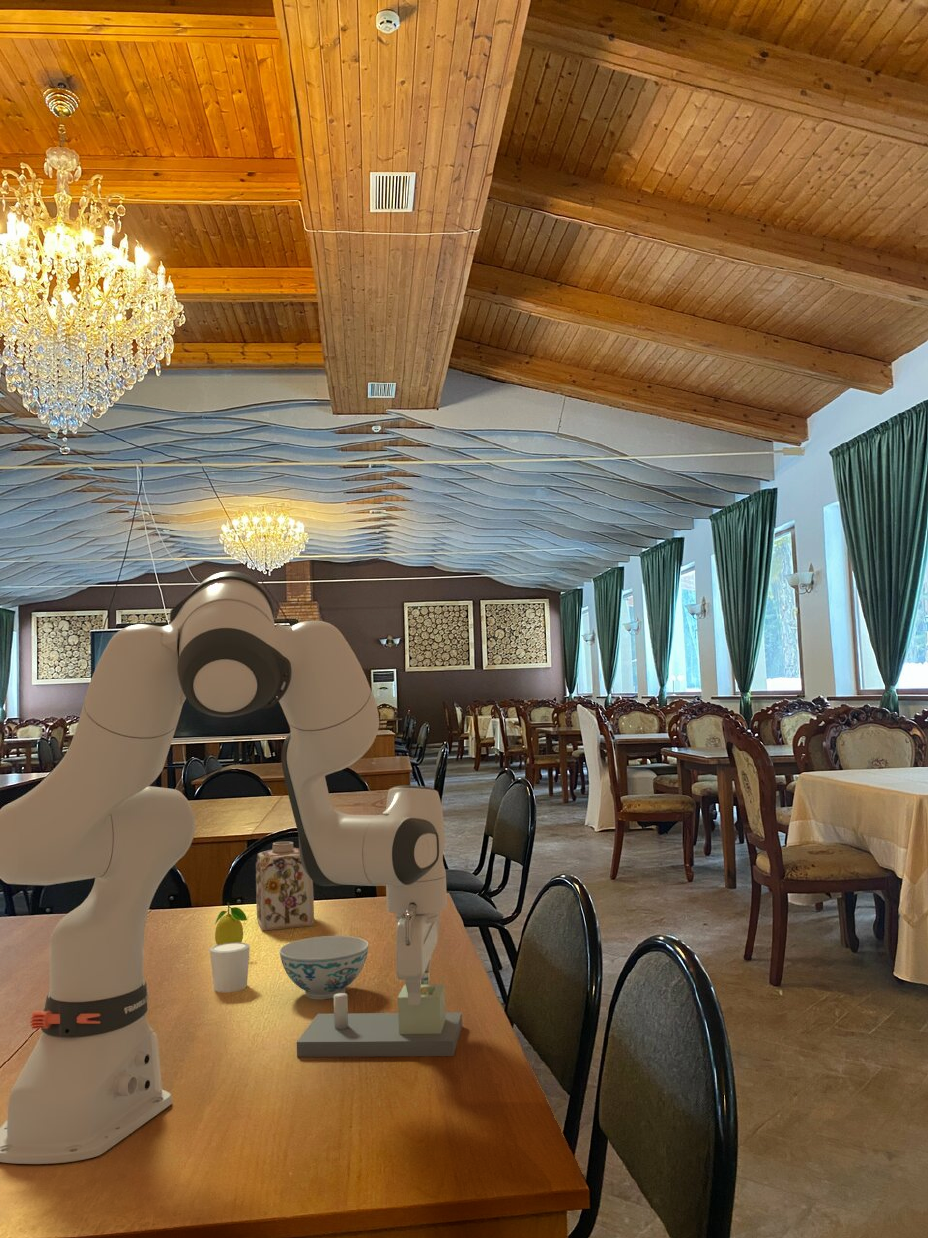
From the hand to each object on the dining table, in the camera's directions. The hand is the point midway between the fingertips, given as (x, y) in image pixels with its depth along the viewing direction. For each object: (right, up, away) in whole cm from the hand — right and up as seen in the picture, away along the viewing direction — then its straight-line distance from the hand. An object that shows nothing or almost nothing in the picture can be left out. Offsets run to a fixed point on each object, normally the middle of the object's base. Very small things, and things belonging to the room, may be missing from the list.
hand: (419, 993), depth 139 cm
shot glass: (-35, -11, +29) cm, 46 cm away
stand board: (-5, -7, -1) cm, 9 cm away
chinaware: (-17, -9, +23) cm, 30 cm away
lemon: (-40, -13, +53) cm, 68 cm away
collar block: (+1, -4, -1) cm, 4 cm away
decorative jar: (-34, -15, +77) cm, 86 cm away
